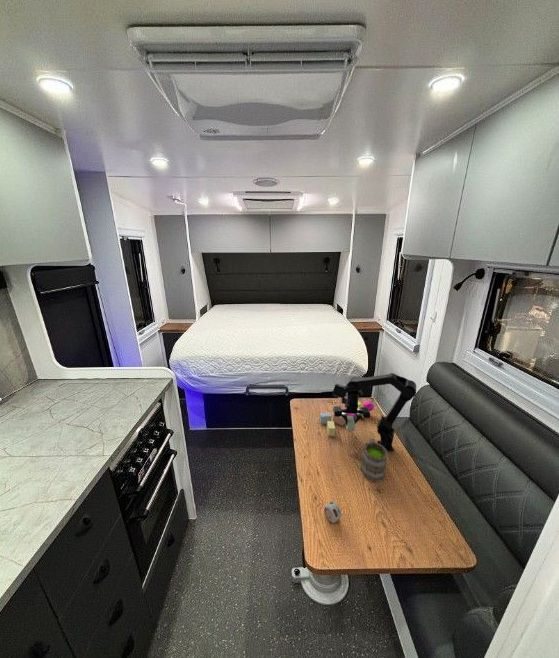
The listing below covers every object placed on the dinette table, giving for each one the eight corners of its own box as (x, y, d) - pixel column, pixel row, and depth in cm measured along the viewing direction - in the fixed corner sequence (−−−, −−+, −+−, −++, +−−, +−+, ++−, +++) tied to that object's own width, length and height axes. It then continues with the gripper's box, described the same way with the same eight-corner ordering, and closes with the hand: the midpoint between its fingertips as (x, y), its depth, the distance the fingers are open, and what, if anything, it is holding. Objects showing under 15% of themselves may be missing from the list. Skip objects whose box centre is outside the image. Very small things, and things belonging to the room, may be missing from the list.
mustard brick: (334, 436, 140) (335, 428, 138) (328, 435, 140) (328, 428, 138) (333, 428, 146) (333, 421, 144) (326, 428, 146) (327, 421, 144)
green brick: (354, 430, 137) (355, 423, 136) (347, 430, 137) (348, 422, 136) (351, 423, 143) (352, 416, 141) (345, 423, 143) (346, 415, 141)
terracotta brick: (344, 422, 151) (345, 415, 149) (342, 425, 148) (343, 418, 147) (335, 418, 154) (335, 411, 152) (332, 422, 151) (333, 414, 150)
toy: (343, 409, 164) (342, 401, 157) (370, 402, 163) (370, 393, 156) (348, 424, 157) (347, 415, 150) (377, 416, 156) (377, 407, 149)
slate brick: (329, 419, 153) (329, 412, 152) (330, 423, 150) (331, 415, 149) (319, 420, 153) (319, 412, 151) (321, 423, 149) (321, 416, 148)
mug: (387, 483, 112) (391, 462, 108) (361, 479, 114) (364, 457, 110) (381, 456, 126) (384, 436, 123) (358, 453, 128) (360, 433, 125)
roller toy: (330, 507, 101) (331, 496, 99) (342, 520, 96) (344, 509, 95) (322, 513, 99) (323, 502, 97) (334, 527, 94) (336, 516, 92)
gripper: (366, 392, 142) (363, 416, 147) (332, 391, 143) (330, 415, 148) (372, 404, 131) (368, 429, 136) (335, 402, 132) (333, 428, 137)
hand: (349, 425), depth 140 cm, fingers closed on green brick, 3 cm apart
